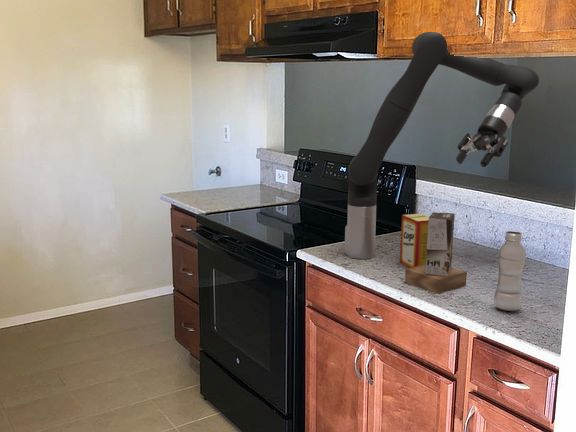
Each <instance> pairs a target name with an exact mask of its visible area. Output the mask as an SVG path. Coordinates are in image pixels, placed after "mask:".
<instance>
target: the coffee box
mask: <svg viewBox="0 0 576 432" xmlns="http://www.w3.org/2000/svg"><path fill="white" fill-rule="evenodd" d="M455 215H456V213H451V212H435V211H433V212H431V215H430V216H428V217H429V220H428V236H427V253H426V270H425V274H431V275H439V276H448V274H449V272H450V270H451V267H452V264H453V263H452V262H453V248H454V234H455V233H454V231H455V217H456V216H455Z"/></svg>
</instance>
